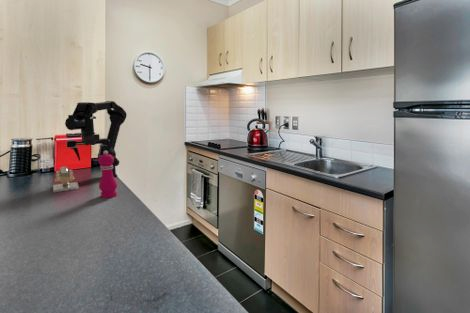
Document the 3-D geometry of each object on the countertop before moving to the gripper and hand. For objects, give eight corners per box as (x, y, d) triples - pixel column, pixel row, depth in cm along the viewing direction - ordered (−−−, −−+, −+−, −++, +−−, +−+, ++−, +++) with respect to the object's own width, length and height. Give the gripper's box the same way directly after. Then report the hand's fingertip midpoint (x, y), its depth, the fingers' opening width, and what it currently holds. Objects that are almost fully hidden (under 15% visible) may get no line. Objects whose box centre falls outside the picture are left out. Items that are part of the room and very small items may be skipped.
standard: (53, 186, 133) (51, 166, 131) (77, 183, 139) (75, 164, 137) (53, 192, 125) (50, 170, 123) (78, 188, 130) (76, 168, 128)
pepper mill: (96, 196, 119) (92, 151, 116) (110, 192, 126) (107, 148, 122) (107, 199, 116) (103, 152, 112) (121, 194, 122) (118, 150, 119)
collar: (56, 177, 132) (56, 171, 131) (72, 175, 135) (72, 169, 135) (56, 180, 126) (56, 174, 126) (73, 178, 130) (72, 172, 129)
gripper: (65, 130, 124) (69, 164, 126) (110, 128, 134) (113, 160, 136) (64, 128, 133) (68, 160, 136) (107, 127, 143) (109, 157, 146)
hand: (90, 159), depth 138 cm, fingers open, 9 cm apart
